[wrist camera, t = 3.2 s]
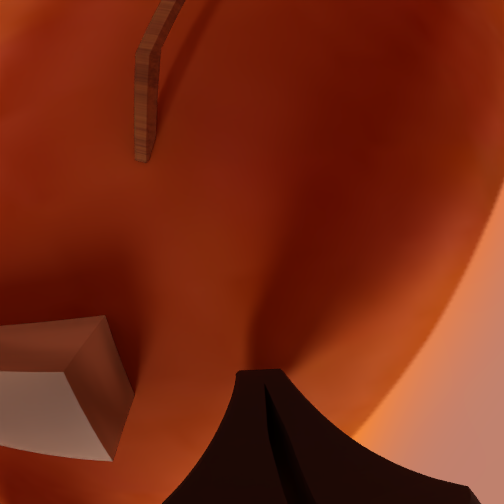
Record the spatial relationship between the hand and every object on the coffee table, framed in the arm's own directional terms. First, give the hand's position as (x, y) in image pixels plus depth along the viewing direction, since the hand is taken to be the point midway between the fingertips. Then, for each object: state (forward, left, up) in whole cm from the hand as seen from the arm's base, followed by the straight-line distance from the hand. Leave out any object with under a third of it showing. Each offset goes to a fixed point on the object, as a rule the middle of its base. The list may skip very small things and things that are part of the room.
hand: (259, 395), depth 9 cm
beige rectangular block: (0, +9, -1) cm, 9 cm away
